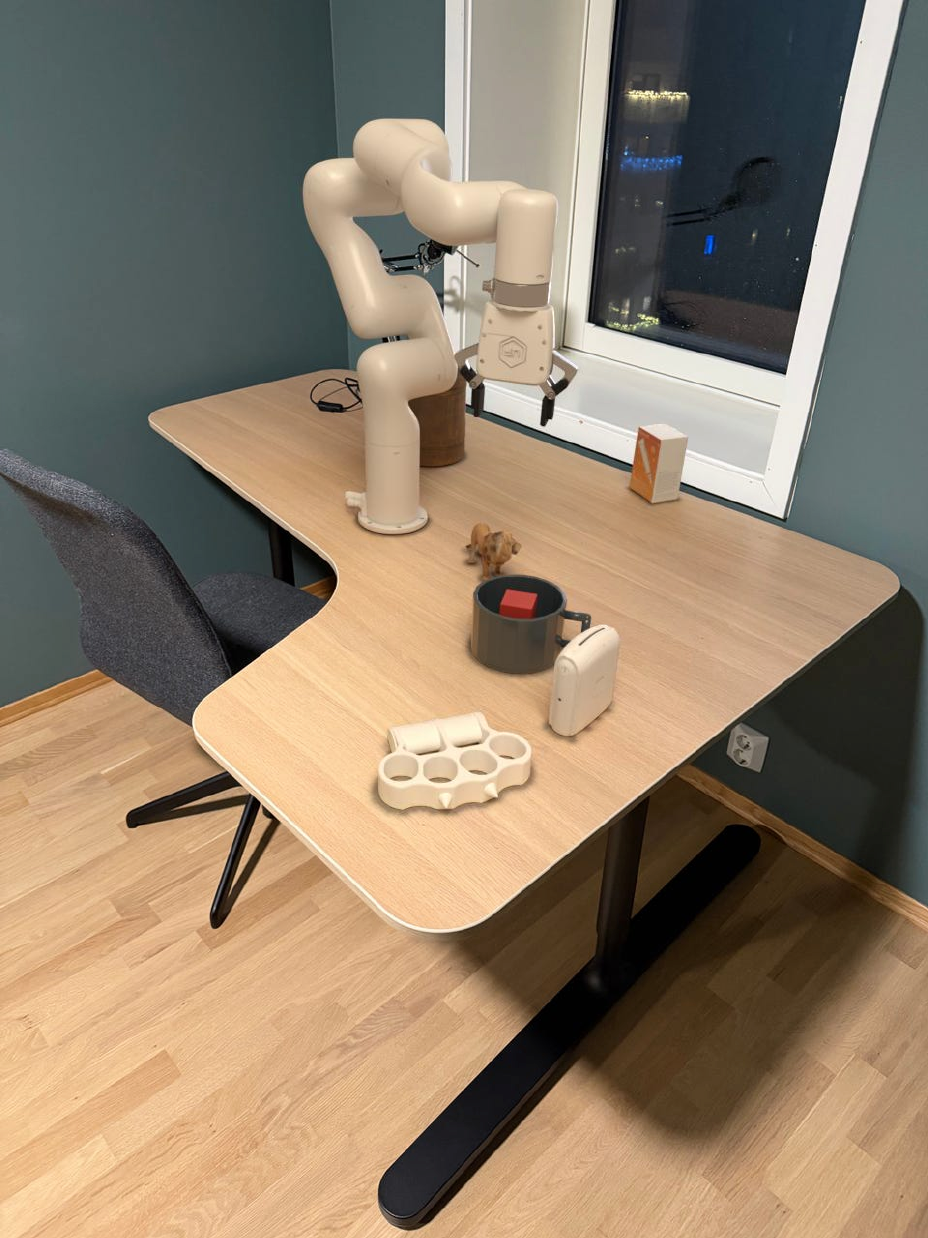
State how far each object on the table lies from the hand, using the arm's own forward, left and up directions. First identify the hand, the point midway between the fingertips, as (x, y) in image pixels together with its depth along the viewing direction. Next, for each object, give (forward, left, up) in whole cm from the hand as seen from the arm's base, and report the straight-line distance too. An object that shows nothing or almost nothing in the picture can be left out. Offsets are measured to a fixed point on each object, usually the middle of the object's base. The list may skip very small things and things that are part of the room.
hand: (511, 418), depth 125 cm
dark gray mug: (+8, -16, -28) cm, 33 cm away
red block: (+6, -16, -27) cm, 32 cm away
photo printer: (+17, -29, -28) cm, 44 cm away
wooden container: (-27, +53, -28) cm, 66 cm away
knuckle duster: (+4, -44, -28) cm, 52 cm away
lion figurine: (-3, +6, -28) cm, 29 cm away
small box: (+21, +47, -28) cm, 58 cm away
